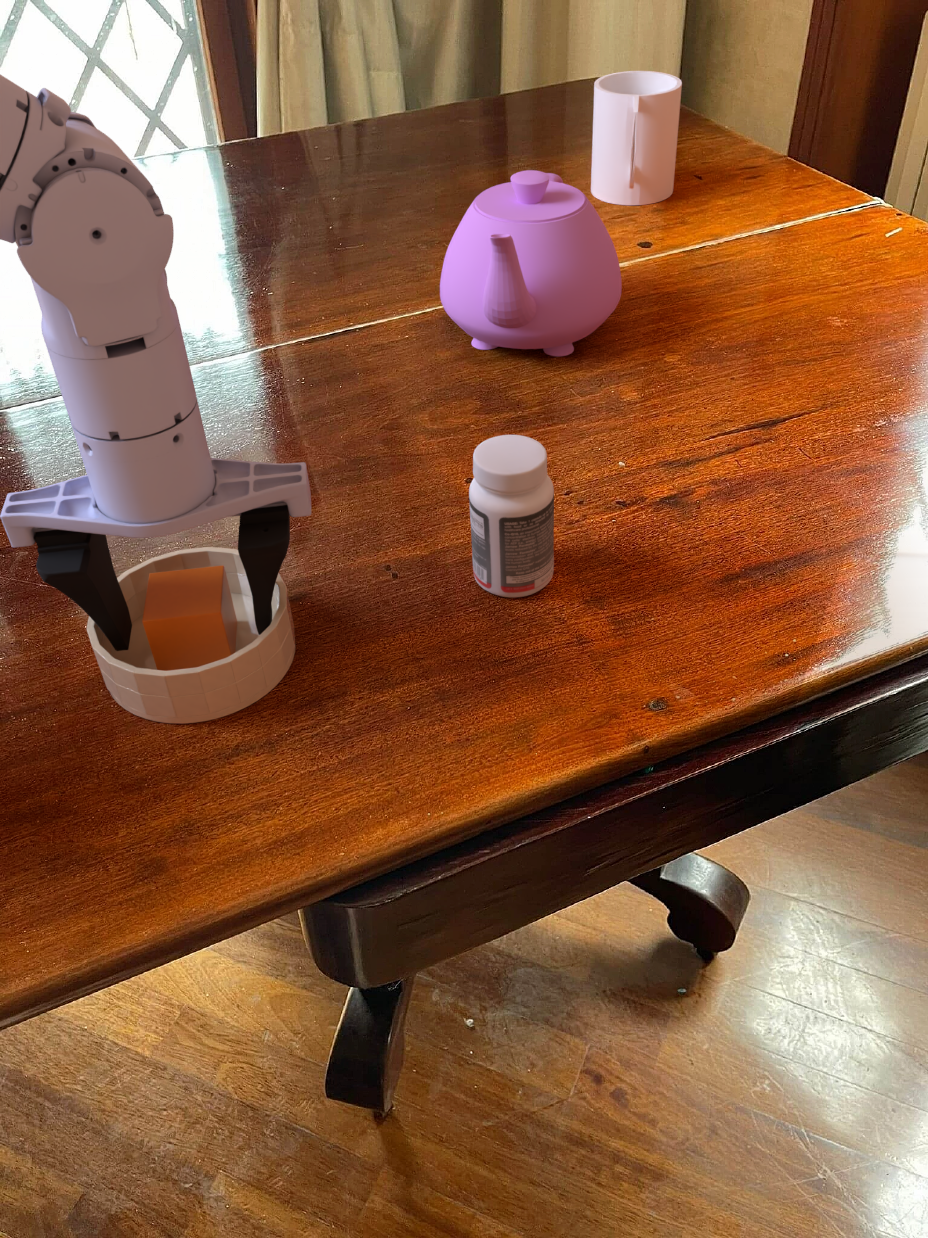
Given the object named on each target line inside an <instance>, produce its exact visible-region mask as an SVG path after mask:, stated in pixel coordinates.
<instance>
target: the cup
mask: <svg viewBox="0 0 928 1238" xmlns="http://www.w3.org/2000/svg"><path fill="white" fill-rule="evenodd" d="M593 84H594V85H593V115H592V143H591V169H590V170H591V171H590V173H591V174H590V193H591V195H592V196H593V197H594V198H596V199H597V200H599V201H601V202H604V203H609V204H613V205H618V206H644V205H652V204H656V203H659V202H663V201H665V200H666V199H668V198H670V197H671V196H672V194H673V193H674V185H675V184H674V183H675V171H676V162H677V161H676V159H677V148H678V147H677V146H678V137H679V136H678V135H679V123H680V112H681V110H680V109H681V99H682V98H681V97H682V86H683V82H682V79H680V78H679V77H678V76H675V75H673V74H670V73H666V72H661V71H653V70H626V71H618V72H612V73H609V74H605V75H602V76H600V77H598V78H597V79H596V80H595V81H594V83H593Z"/></svg>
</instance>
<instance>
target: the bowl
mask: <svg viewBox="0 0 928 1238" xmlns="http://www.w3.org/2000/svg"><path fill="white" fill-rule="evenodd" d="M222 565H223V566H224V568H225V572H226V576H227V580H228V584H229V589H230V593H231V597H232V601H233V606H234V610H235V614H236V618H237V631H236V652H235V653H234V654H232V655H230V656H229V657H227V658H224V659H221V660H218V661H215V662H212V663H209V664H206V665H203V666H199V667H195V668H186V669H178V670H169V671H163V670H157V668H156V664H155V661H154V658H153V655H152V651H151V648H150V645H149V642H148V639H147V635H146V632H145V629H144V626H143V623H142V619H143V612H144V606H145V599H146V592H147V586H148V579H149V574H150V573H158V572H167V571H176V570H185V569H194V568H204V567H213V566H222ZM116 577H117V580H118V582H119V585H120V588H121V590H122V593H123V595H124V598H125V601H126V603H127V606H128V609H129V614H130V618H131V622H132V629H131V636H130V642H129V648H128V650H123V651H116V650H115V649H114V647H113V646H112V644H111V643H110V641H109V640H108V639H107V637H106V636H105V634H104V633H103V632H102V631H101V629H100V628H99V627H98V626H97V624H96V623H95V622H94V621H93V620H92V619H91V618H90V616H89V615H88V619H87V625H86V633H87V635H88V638H89V642H90V645H91V648H92V651H93V654H94V657H95V660H96V662H97V664H98V667H99V670H100V673H101V675H102V679H103V682H104V684H105V687H106V689H107V691H108V692H109V694H110V696H111V698H112V699H114V701H115V702H116V703H117V704H118V705H119V706H121V708H123V709H124V710H125V711H127V712H129V713H130V714H132V715H134V716H137V717H139V718H142V719H144V720H148V721H153V722H156V723H163V724H181V725H183V724H195V723H202V722H203V723H204V722H209V721H212V720H213V721H214V720H216V719H219V718H220V719H221V718H224V717H226V716H229V715H232V714H235V713H237V712H239V711H242V710H243V709H246V708H247V707H250V706H251V705H253V704H254V703H256V702H258V701H259V700H261V699H262V698H264V697H265V696H266V695H268V694H269V693H270V692H271V691H272V690H273V689H274V688H275V687H277V685H279V683H280V682H281V681H282V680H283V679H284V677H285V676H286V674H287V673H288V672H289V669H290V667H291V665H292V663H293V661H294V657H295V653H296V644H297V642H296V633H295V624H294V618H293V614H292V609H291V602H290V599H289V598H290V597H289V592H288V588H287V585H286V583H285V582H284V579H283V578H282V576H281V574H280V572H279V573H278V576H277V579H276V583H275V587H274V591H273V596H272V602H271V605H272V622H271V624H270V625H269V626H268V627H267V628H266V629H265V630H264V631H263V632H262V633H261V634H260V635H259V634H258V631H257V627H256V623H255V615H254V607H253V599H252V593H251V590H250V586H249V582H248V579H247V576H246V573H245V570H244V567H243V564H242V561H241V559H240V556H239V552H238V548H237V549H236V548H229V547H216V546H203V547H194V548H183V549H177V550H174V551H171V552H168V553H164V554H161V555H157V556H154V557H151V558H149V559H146V560H145V561H143V562H141V563H138V564H136V565H134V566H133V567H131V568H129V569H127V570H125V571H123V572H122V573H121V574H120V575H118V576H116Z"/></svg>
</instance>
